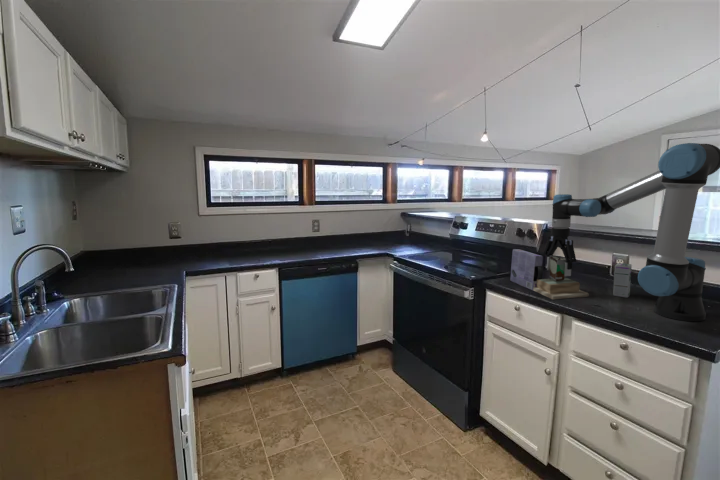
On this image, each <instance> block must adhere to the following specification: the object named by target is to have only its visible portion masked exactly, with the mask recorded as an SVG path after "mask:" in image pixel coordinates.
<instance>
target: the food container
mask: <svg viewBox="0 0 720 480" xmlns="http://www.w3.org/2000/svg"><path fill="white" fill-rule="evenodd" d="M549 259H550V268H549V270H548V271H549V277H550V278H553V279H554V280H555V281H561V280H564V278H566V276H564V273H565V262H566V259H565V256H561V255H554V254H553V255H550V257H549Z"/></svg>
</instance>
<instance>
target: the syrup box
mask: <svg viewBox="0 0 720 480" xmlns="http://www.w3.org/2000/svg"><path fill="white" fill-rule="evenodd" d="M632 266H633V265H632V264H630V263H624V262H623V263H621V262H620V263H618V262H617V263H616V264H615V265H614V271H613V272H614V273H613V274H614V275H613V289H612V290H613V291H612V292H613V293H612V296H614V297H622V298H629V297H630V295H631V283H632V282H631V279H632Z"/></svg>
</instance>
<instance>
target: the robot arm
mask: <svg viewBox="0 0 720 480" xmlns="http://www.w3.org/2000/svg"><path fill="white" fill-rule="evenodd" d="M657 165H658V171H655V172H653V173H651V174H647V175H645V176H643V177H641V178H640V179H637V180H635V181H633V182H630V183H628V184H626V185H624V186H622V187H619V188H617V189H615V190H613V191H611V192H609V193H607V194H605V195H603V196H601V197H594V198H584V199H583V198H580V199H579V198H573V196H572V194H563V193H562V194H561V193H560V194H555V195H554V196H553V198H552V199H553V200H552V215H551V217H552V219H551V220H552V221H551V231H550V232H551V236H548V237H547V241H546V242H547V243H546V245H545V248H544V252H543V254H544V255H545V256H546V271H549V268H550V259H549V257H550V255H554V254H555V252H556V251H557V249H558V248H559V249H560V250H561V251H562V253H563V255H564V256H563V257H565V259H566V262H565V273H564V276H565V277H571V276H572V269H573V263H574V262H575V263H576V262H577V257H576V252H575V249H574V240H573V239H570V240H569V239H568V238H569V236H570V235H571V228H570V227H571V217H573V216H575V217H585V218H594V217H597V216H600V215H607V214H611V213H613V212H614V211H615V210H617V209H620V208H621V207H622V208H623V206H626V205H629V204H631V203H634V202H637V201H639V200H642V199H643V198H646V197H649V196H651V195H654V194H657V193H658V192H661V191H664V190H665V192H664V196H663V200H662V201H663V202H662V206H661V211H660V212H661V213H660V217H659V222H658V226H657V232H656V237H655V243H654V248H653V252H652V253H651V254H649V255H647V257H646V262H645V266H643V267H642V268H641V269H639V272H638V274H637V282H638V284H639V286H640V287H641V288H642V289H643V290H644V291H645V292H646V293H648V294H650V295H652V296H655V297H658V298H657V299H656V301H655V303H654V305H653V311H654V313H656V314H658V315H660V316H663V317H665V318H669V319H673V320H678V321H684V322H685V321H686V322H700V321H701V322H702V321H705V320H706V318H707V317H706V316H707V312H706V311H705V306H704V302H703V298H702V296H703V287H704V280H705V271H706V261H705V260H704V259H701V258H697V257H690V256H685V255H686V251H687V250H686V249H687V247H688V241H689V236H690V232H691V228H692V227H691V226H692V224H693V217H694V213H695V209H696V204H697V200H698V199H697V198H698V194H699V190H700V189H701V188H703V187H704V186H706V185H707V183H708V182H707V181H708V177H709V176H711V175H713V174H715V173H716V172H717V171H719V169H720V147H718V146H716V145H714V144H711V143H699V142H698V143H696V142H693V143H692V142H687V143H686V142H684V143H679V144H676V145H673V146H672V147H669V148H668V149H666V150H665V151H664V153H662V155H661V156H660V158H659V161H658V164H657Z"/></svg>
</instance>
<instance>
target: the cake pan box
mask: <svg viewBox="0 0 720 480" xmlns="http://www.w3.org/2000/svg"><path fill="white" fill-rule="evenodd" d="M511 254H512V255H511V265H510V266H511V267H510V279H509V280H510V282H512V283H514V284H517V285H519V286H521V287H523V288H525V289H529V290H531V291H534V290H533V287H537V280H538V279H543V275H544V269H543V261H544V256H543V255H539V254H536V253H533V252H530V251H526V250H523V249H518V248H517V249H516V248H513V249H512V253H511Z"/></svg>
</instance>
